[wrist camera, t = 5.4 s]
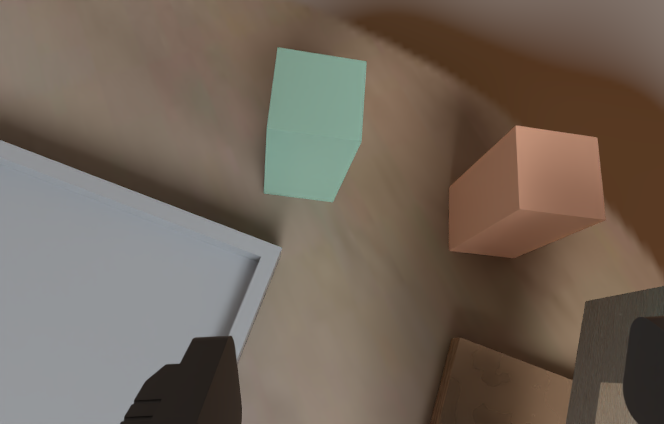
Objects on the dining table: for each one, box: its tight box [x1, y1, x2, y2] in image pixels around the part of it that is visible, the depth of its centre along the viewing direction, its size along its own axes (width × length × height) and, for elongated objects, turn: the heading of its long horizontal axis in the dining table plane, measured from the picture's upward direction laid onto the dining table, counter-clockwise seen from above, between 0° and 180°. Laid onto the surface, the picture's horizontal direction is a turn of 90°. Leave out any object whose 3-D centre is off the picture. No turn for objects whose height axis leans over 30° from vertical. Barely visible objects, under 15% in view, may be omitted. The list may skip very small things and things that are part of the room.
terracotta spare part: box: [449, 126, 606, 258], centre depth 31 cm, size 5×5×10 cm
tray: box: [0, 140, 282, 424], centre depth 28 cm, size 22×22×3 cm
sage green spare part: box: [264, 47, 367, 202], centre depth 31 cm, size 5×5×10 cm
